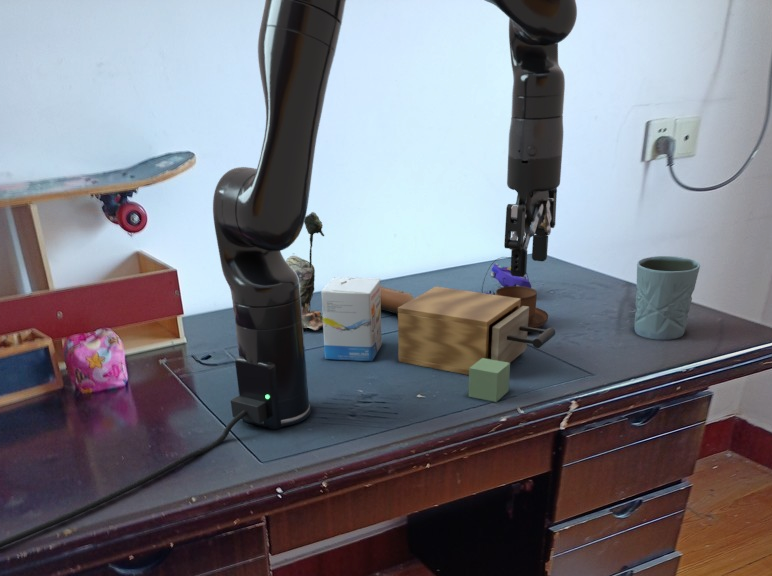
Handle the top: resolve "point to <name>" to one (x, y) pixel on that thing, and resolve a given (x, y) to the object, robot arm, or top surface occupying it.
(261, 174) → the robot arm
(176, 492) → the top surface
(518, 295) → the cup and saucer
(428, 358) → the cabinet
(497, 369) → the block
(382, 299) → the sunglasses case
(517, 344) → the drawer
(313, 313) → the plant with pod
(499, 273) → the game controller
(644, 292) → the drinking glass
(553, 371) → the top surface
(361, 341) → the ink box
